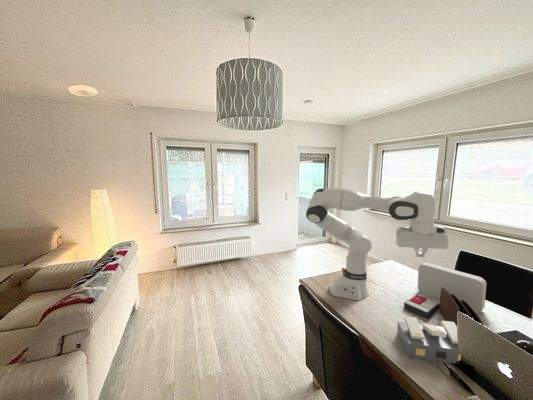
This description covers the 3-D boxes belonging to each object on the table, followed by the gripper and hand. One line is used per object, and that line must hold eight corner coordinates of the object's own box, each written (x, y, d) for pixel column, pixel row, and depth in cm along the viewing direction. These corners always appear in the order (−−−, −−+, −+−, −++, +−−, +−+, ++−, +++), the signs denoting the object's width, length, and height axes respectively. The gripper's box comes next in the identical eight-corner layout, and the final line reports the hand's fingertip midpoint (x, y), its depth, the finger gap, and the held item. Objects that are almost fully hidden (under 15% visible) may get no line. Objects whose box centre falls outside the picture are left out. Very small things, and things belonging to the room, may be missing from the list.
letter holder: (454, 335, 98) (456, 306, 96) (438, 309, 116) (439, 284, 114) (483, 340, 94) (486, 310, 92) (461, 313, 112) (463, 287, 111)
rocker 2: (432, 335, 86) (432, 330, 86) (422, 327, 94) (422, 323, 95) (445, 336, 85) (445, 332, 85) (434, 329, 93) (433, 324, 94)
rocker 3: (452, 343, 85) (453, 340, 84) (440, 323, 93) (441, 320, 92) (466, 345, 84) (467, 342, 83) (453, 324, 92) (453, 321, 91)
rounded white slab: (485, 310, 114) (488, 277, 112) (481, 315, 110) (483, 281, 108) (422, 287, 138) (424, 260, 136) (417, 291, 134) (418, 263, 132)
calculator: (439, 302, 116) (427, 312, 108) (439, 310, 116) (427, 320, 108) (416, 293, 125) (404, 301, 117) (416, 300, 126) (403, 309, 117)
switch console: (408, 357, 87) (409, 340, 86) (397, 333, 100) (397, 319, 99) (474, 367, 81) (476, 349, 81) (453, 341, 94) (455, 325, 93)
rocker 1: (411, 338, 88) (412, 335, 87) (404, 318, 96) (404, 316, 95) (424, 340, 87) (425, 337, 86) (415, 320, 95) (416, 317, 94)
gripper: (398, 228, 99) (397, 257, 100) (451, 229, 94) (449, 260, 96) (394, 225, 105) (393, 253, 107) (443, 226, 100) (441, 255, 102)
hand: (420, 256), depth 101 cm, fingers closed
